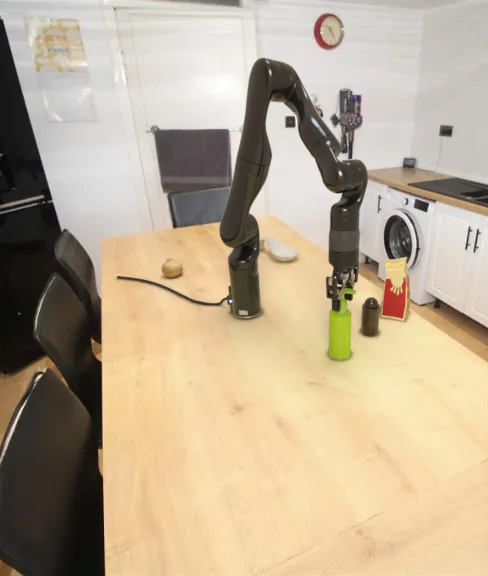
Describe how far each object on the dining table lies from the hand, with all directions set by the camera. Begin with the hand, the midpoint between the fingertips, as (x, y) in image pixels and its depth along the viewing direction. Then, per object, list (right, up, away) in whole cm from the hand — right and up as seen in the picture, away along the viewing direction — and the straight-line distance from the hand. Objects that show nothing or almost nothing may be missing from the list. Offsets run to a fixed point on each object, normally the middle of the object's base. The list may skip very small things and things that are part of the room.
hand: (342, 305), depth 107 cm
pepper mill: (+9, -9, +18) cm, 22 cm away
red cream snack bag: (+18, -4, +28) cm, 34 cm away
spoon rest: (-25, +18, +75) cm, 82 cm away
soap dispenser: (0, -14, +7) cm, 16 cm away
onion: (-64, +9, +56) cm, 86 cm away
